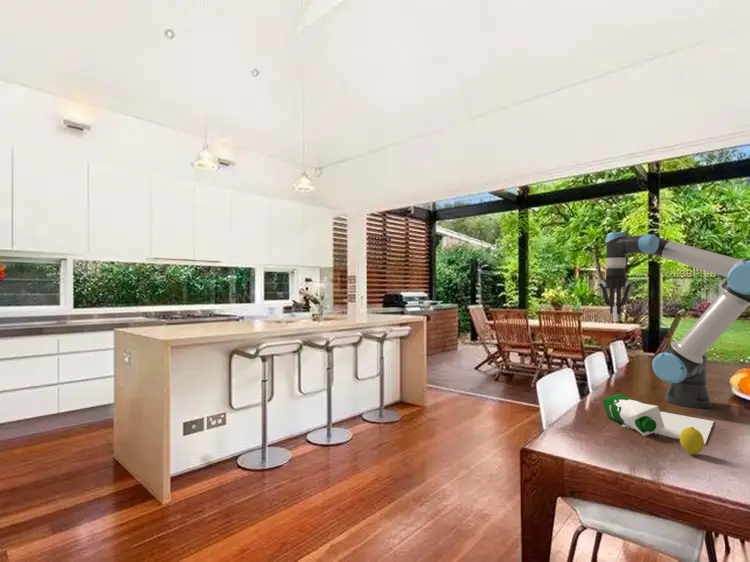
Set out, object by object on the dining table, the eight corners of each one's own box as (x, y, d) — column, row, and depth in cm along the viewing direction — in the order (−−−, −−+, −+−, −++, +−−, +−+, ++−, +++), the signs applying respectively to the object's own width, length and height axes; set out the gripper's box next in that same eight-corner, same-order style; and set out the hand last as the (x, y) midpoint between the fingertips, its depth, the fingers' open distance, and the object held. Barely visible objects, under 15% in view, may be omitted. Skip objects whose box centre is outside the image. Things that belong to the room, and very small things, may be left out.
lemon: (675, 452, 121) (675, 425, 121) (687, 449, 123) (687, 422, 123) (696, 460, 116) (696, 431, 116) (708, 456, 118) (708, 428, 118)
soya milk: (598, 398, 151) (640, 415, 131) (620, 389, 152) (664, 405, 132) (606, 420, 152) (648, 441, 132) (627, 412, 153) (673, 430, 133)
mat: (713, 422, 147) (713, 421, 147) (705, 444, 127) (705, 443, 127) (639, 408, 163) (639, 407, 163) (621, 426, 142) (621, 425, 142)
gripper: (634, 267, 181) (634, 321, 181) (601, 268, 190) (601, 319, 190) (630, 267, 176) (630, 323, 176) (597, 267, 185) (596, 320, 185)
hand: (615, 321), depth 183 cm, fingers closed
